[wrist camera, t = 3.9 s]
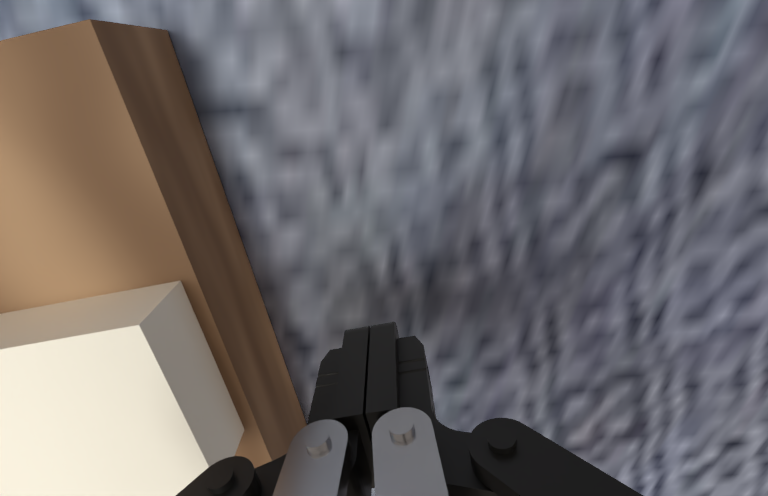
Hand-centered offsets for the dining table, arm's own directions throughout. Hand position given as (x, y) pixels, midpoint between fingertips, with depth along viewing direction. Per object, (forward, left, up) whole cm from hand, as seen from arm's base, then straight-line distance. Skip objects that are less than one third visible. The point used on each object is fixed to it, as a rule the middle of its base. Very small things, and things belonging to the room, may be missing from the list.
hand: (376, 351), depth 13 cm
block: (+10, 0, -1) cm, 10 cm away
